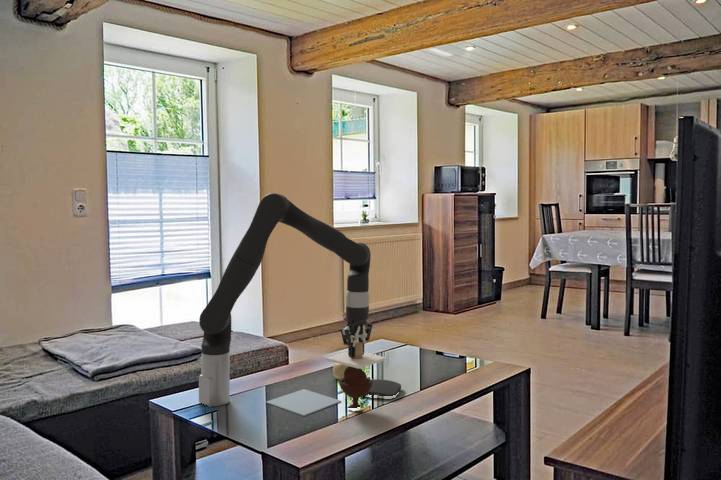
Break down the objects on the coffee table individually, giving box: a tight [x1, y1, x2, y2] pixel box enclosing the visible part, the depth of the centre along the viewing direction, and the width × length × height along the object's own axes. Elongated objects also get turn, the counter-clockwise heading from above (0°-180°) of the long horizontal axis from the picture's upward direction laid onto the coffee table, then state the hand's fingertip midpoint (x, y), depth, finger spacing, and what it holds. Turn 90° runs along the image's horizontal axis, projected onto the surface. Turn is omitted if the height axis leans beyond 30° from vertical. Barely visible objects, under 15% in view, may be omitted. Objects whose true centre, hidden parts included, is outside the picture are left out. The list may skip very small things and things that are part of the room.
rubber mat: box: [265, 388, 342, 417], centre depth 206 cm, size 18×18×1 cm
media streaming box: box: [364, 378, 402, 396], centre depth 219 cm, size 15×15×3 cm
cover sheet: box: [325, 340, 387, 369], centre depth 199 cm, size 14×14×6 cm
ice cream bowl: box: [338, 366, 373, 408], centre depth 200 cm, size 11×11×15 cm
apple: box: [332, 362, 349, 381], centre depth 233 cm, size 8×8×8 cm
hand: (356, 355), depth 200 cm, fingers closed on cover sheet, 3 cm apart
